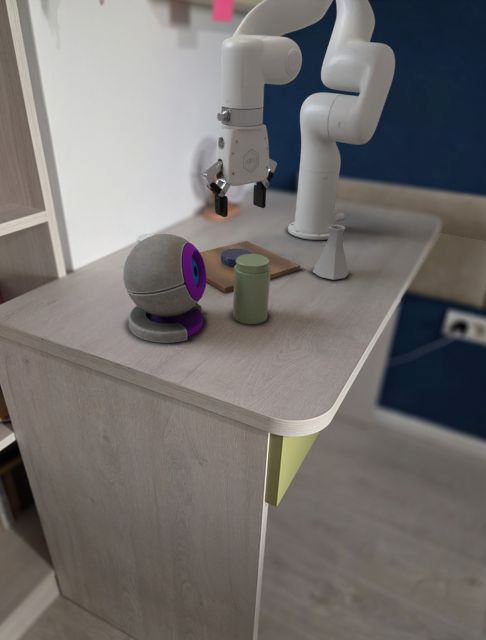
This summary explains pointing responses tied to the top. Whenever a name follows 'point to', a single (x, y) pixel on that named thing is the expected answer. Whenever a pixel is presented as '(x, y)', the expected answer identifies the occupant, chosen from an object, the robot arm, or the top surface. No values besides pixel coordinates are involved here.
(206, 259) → the mat
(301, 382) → the top surface
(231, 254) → the lid
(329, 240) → the flask
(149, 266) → the webcam
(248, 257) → the jar
